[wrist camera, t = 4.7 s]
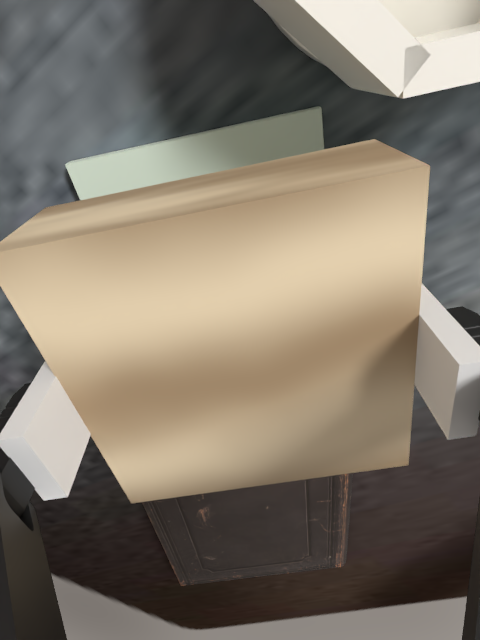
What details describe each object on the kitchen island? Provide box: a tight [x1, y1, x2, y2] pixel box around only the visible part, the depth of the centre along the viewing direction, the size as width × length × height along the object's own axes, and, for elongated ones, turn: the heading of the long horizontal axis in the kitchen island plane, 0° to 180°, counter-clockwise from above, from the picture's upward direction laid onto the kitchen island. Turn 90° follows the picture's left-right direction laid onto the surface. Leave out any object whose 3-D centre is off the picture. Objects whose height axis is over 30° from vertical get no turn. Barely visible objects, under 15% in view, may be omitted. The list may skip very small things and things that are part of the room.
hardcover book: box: [142, 473, 353, 586], centre depth 31 cm, size 16×23×2 cm
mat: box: [65, 106, 324, 200], centre depth 19 cm, size 11×11×1 cm
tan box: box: [0, 139, 430, 503], centre depth 14 cm, size 11×11×4 cm
